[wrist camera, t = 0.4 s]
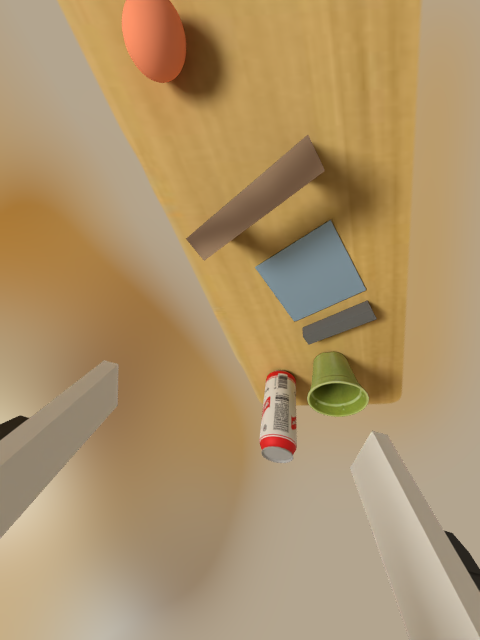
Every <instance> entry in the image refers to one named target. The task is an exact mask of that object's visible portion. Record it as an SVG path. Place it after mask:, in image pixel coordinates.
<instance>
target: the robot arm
mask: <svg viewBox="0 0 480 640" xmlns="http://www.w3.org/2000/svg"><path fill="white" fill-rule="evenodd" d="M117 405H118V364H115V363H112V362H108V361H103V362H102V363H100V364H99V365H98V366H96V367H95V368H94V369H93V370H91V371H90V372H89V373H87V374H86V375H85V376H83V377H82V378H81V379H80V380H78V381H77V382H76V383H74V384H73V385H72V386H70V387H69V388H68V389H66V390H65V391H64V392H63V393H61V394H60V395H59V396H57V397H56V398H55V399H53V400H52V401H51V402H50V403H48V404H47V405H46V406H44V407H43V408H42V409H40V410H39V411H38V412H37V413H35V414H34V415H33V416H31V417H30V418H27V417H23V416H18V417H16V418H13V419H11V420H9V421H7V422H5V423H2V424H0V538H1V537H2V536H3V535H4V534H5V533H6V531H7V530H8V529H9V528H10V527H11V526H12V525H13V523H14V522H15V521H16V520H17V519H18V518H19V517H20V516H21V514H22V513H23V512H24V511H25V510H26V509H27V508H28V506H29V505H30V504H31V503H32V502H33V501H34V500H35V499H36V497H37V496H38V495H39V494H40V492H42V490H43V489H44V488H45V487H46V486H47V485H48V484H49V483H50V481H51V480H52V479H53V478H54V477H55V476H56V475H57V474H58V472H59V471H60V470H61V469H62V468H63V467H64V466H65V465H66V463H67V462H68V461H69V460H70V459H71V458H72V456H73V455H74V454H75V453H76V452H77V451H78V450H79V448H81V446H82V445H83V444H84V443H85V442H86V441H87V440H88V438H89V437H90V436H91V435H92V434H93V433H94V432H95V430H96V429H97V428H98V427H99V426H100V425H101V423H102V422H103V421H104V420H105V419H106V418H107V417H108V416H109V415H110V413H111V412H112V411H113V410H114V409H115V408H116V407H117ZM350 469H351V472H352V475H353V478H354V480H355V484H356V486H357V489H358V492H359V495H360V498H361V501H362V504H363V507H364V510H365V513H366V516H367V518H368V521H369V524H370V527H371V530H372V533H373V536H374V539H375V542H376V544H377V547H378V550H379V553H380V556H381V559H382V562H383V565H384V568H385V571H386V573H387V577H388V579H389V582H390V585H391V588H392V591H393V594H394V597H395V600H396V603H397V606H398V608H399V611H400V614H401V617H402V620H403V623H404V626H405V629H406V631H407V635H408V637H409V640H480V569H479V567H478V566H477V564H476V563H475V561H474V559H473V558H472V556H471V555H470V553H469V552H468V551H467V550H466V549H465V547H464V546H463V545H462V544H461V543H460V541H459V540H458V539H457V538H456V537H455V536H454V535H453V533H450V532H447V531H444V530H443V529H442V527H441V525H440V523H439V522H438V520H437V518H436V517H435V515H434V513H433V511H432V510H431V508H430V506H429V505H428V503H427V501H426V500H425V498H424V496H423V494H422V493H421V491H420V489H419V488H418V486H417V484H416V483H415V481H414V480H413V477H412V476H411V474H410V472H409V471H408V469H407V467H406V466H405V464H404V462H403V460H402V459H401V457H400V455H399V454H398V452H397V450H396V449H395V447H394V445H393V443H392V442H391V440H390V438H389V437H388V435H386V434H383V433H378V432H375V431H372V432H371V433H370V435H369V437H368V439H367V440H366V442H365V444H364V445H363V447H362V449H361V450H360V452H359V454H358V456H357V457H356V459H355V461H354V462H353V464H352V466H351V467H350Z"/></svg>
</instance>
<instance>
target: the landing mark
mask: <svg viewBox="0 0 480 640" xmlns="http://www.w3.org/2000/svg"><path fill="white" fill-rule="evenodd" d="M255 268H256V269H257V271H258V272H259V273H260V275H261V276H262V278H263V279H264V280H265V282H266V283H267V285H268V286H269V287H270V289H271V290H272V291H273V293H274V294H275V296H276V297H277V298H278V300H279V301H280V302H281V304H282V305H283V307H284V308H285V309H286V311H287V312H288V314H289V315H290V316H291V318H292V319H293V320H294V322H295V321H297V320H299V319H302V318H304V317H306V316H308V315H311V314H313V313H315V312H317V311H320V310H322V309H324V308H327V307H329V306H331V305H333V304H336V303H338V302H340V301H342V300H345V299H347V298H349V297H351V296H354V295H356V294H358V293H360V292H363V291H365V290H366V289H365V287H364V285H363V283H362V281H361V279H360V277H359V275H358V273H357V271H356V269H355V267H354V265H353V263H352V261H351V259H350V257H349V255H348V253H347V251H346V249H345V247H344V245H343V243H342V241H341V240H340V238H339V236H338V234H337V232H336V230H335V228H334V226H333V224H332V222H331V220H329V221H328V222H326V223H325V224H323V225H322V226H320V227H318V228H317V229H315V230H314V231H312V232H310V233H309V234H307V235H306V236H304V237H302V238H301V239H299V240H298V241H296V242H294V243H293V244H291V245H290V246H288V247H286V248H285V249H283V250H282V251H280V252H278V253H277V254H275V255H274V256H272V257H271V258H269V259H267V260H266V261H264V262H263V263H261V264H259V265H258V266H256V267H255Z"/></svg>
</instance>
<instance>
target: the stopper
mask: <svg viewBox="0 0 480 640" xmlns="http://www.w3.org/2000/svg"><path fill="white" fill-rule="evenodd" d="M373 320H376V317H375V315H374V313H373V311H372V309H371V307H370V305H369V303H368V301H365V302H363V303H360V304H358V305H356V306H353V307H351V308H348V309H346V310H344V311H341V312H339V313H336V314H334V315H332V316H329V317H327V318H325V319H322V320H320V321H317V322H315V323H313V324H310V325H308V326H305V327H303V337H304V339H305V340H306V342H307V343H308V344H312V343H314V342H317V341H320V340H322V339H325V338H328V337H330V336H333V335H336V334H338V333H341V332H344V331H346V330H349V329H352V328H354V327H357V326H360V325H362V324H365V323H368V322H370V321H373Z"/></svg>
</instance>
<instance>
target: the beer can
mask: <svg viewBox="0 0 480 640" xmlns="http://www.w3.org/2000/svg"><path fill="white" fill-rule="evenodd" d="M260 446H261V449H262V455H263V457H264V458H266V459H268V460H270V461H273V462H277V463H286V462H290V461H292V459H293V454H294V452H295V450H296V447H297V445H296V380H295V378H294V376H293V375H291V374H290V373H289V372H287V371H283V370H276V371H274V372H272V373H270V374H269V375H268V376H267V379H266V386H265V395H264V404H263V414H262V422H261V431H260Z"/></svg>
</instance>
